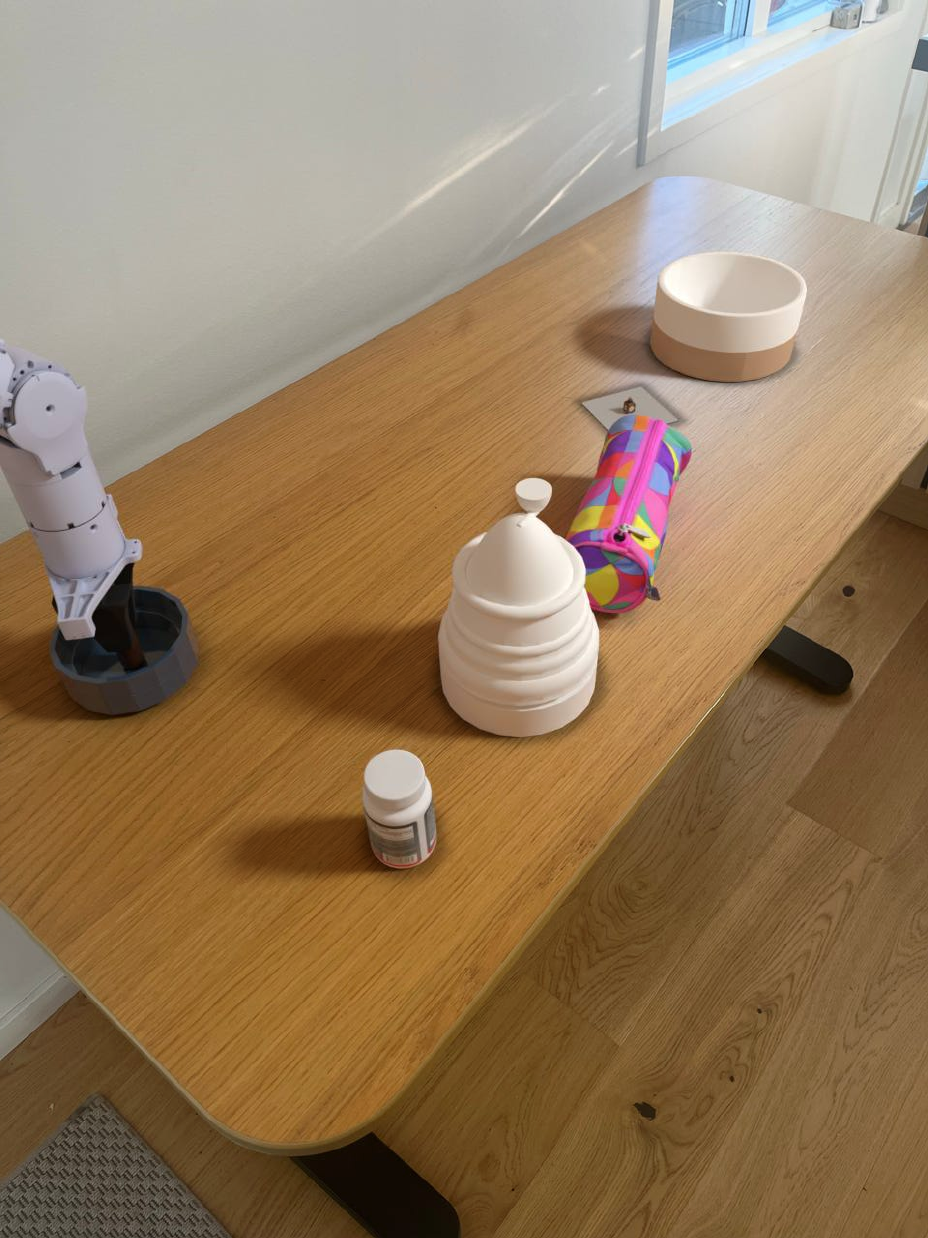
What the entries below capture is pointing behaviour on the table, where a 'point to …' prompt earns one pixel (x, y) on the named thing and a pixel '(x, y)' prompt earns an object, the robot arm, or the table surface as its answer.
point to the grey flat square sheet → (627, 407)
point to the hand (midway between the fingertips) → (121, 637)
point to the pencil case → (628, 512)
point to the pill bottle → (399, 809)
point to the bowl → (726, 315)
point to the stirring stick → (131, 653)
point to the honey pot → (519, 626)
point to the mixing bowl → (122, 690)
